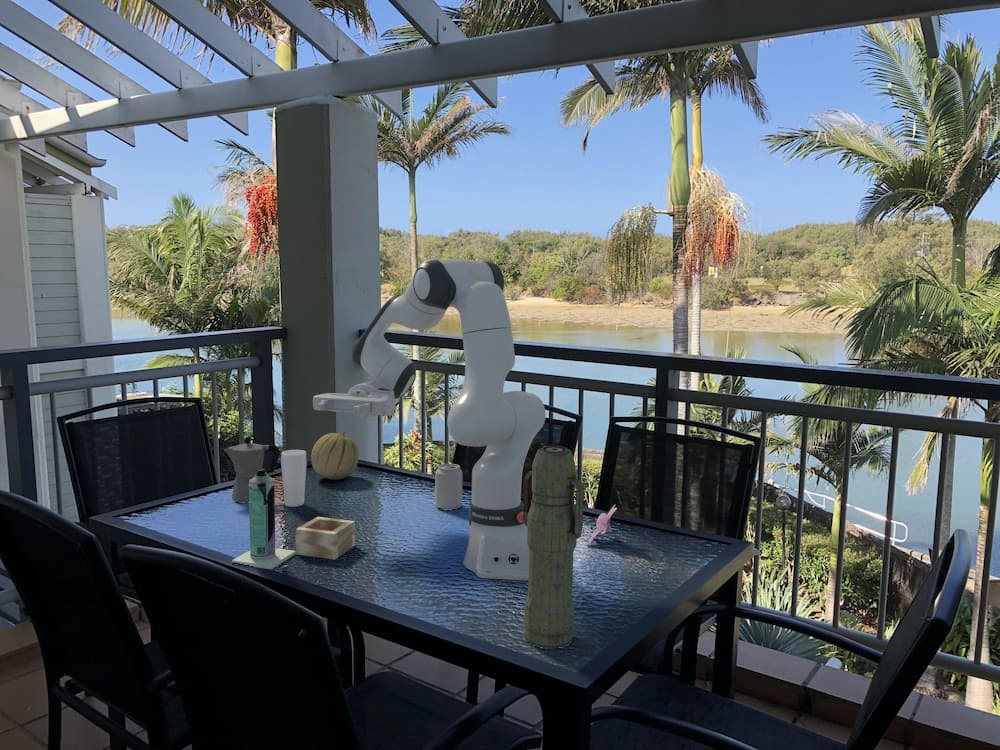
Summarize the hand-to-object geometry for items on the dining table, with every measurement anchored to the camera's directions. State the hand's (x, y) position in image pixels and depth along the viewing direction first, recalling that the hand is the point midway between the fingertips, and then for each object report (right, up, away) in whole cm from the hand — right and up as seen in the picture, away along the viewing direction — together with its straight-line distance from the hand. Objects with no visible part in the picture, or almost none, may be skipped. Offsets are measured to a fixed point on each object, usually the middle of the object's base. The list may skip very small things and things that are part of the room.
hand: (338, 408), depth 191 cm
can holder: (-2, -33, -6) cm, 34 cm away
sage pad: (-14, -33, -13) cm, 39 cm away
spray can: (-14, -33, -13) cm, 38 cm away
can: (+25, -29, +30) cm, 48 cm away
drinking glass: (-18, -28, +29) cm, 44 cm away
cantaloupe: (-13, -25, +57) cm, 64 cm away
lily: (+65, -33, +3) cm, 73 cm away
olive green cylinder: (+48, -40, -49) cm, 79 cm away
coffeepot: (-31, -27, +34) cm, 54 cm away
